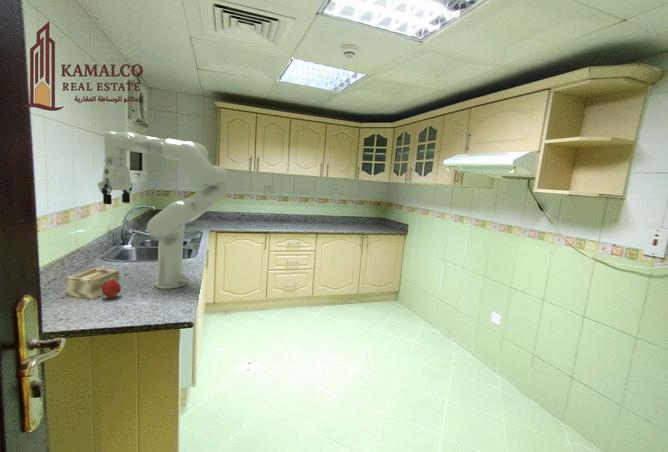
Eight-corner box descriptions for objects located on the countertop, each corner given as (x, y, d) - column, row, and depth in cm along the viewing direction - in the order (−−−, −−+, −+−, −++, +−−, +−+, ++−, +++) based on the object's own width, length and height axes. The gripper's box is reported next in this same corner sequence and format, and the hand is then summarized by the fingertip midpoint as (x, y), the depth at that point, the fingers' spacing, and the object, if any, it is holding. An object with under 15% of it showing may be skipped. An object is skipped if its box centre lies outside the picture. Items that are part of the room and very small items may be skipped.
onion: (99, 301, 117) (98, 280, 116) (106, 295, 123) (105, 275, 121) (117, 300, 119) (116, 280, 117) (123, 295, 124) (122, 275, 123)
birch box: (119, 288, 131) (119, 270, 130) (92, 299, 118) (91, 280, 117) (95, 285, 132) (94, 268, 131) (65, 296, 120) (65, 277, 119)
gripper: (106, 161, 122) (108, 205, 125) (139, 164, 139) (140, 202, 142) (89, 160, 123) (91, 203, 126) (124, 163, 140) (125, 201, 143)
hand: (117, 203), depth 134 cm, fingers open, 9 cm apart
